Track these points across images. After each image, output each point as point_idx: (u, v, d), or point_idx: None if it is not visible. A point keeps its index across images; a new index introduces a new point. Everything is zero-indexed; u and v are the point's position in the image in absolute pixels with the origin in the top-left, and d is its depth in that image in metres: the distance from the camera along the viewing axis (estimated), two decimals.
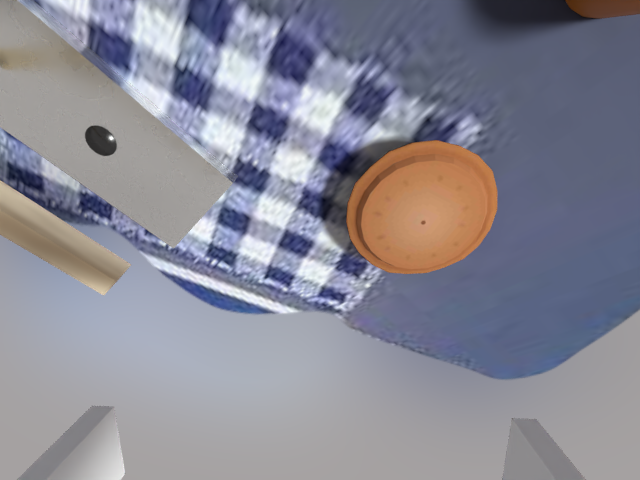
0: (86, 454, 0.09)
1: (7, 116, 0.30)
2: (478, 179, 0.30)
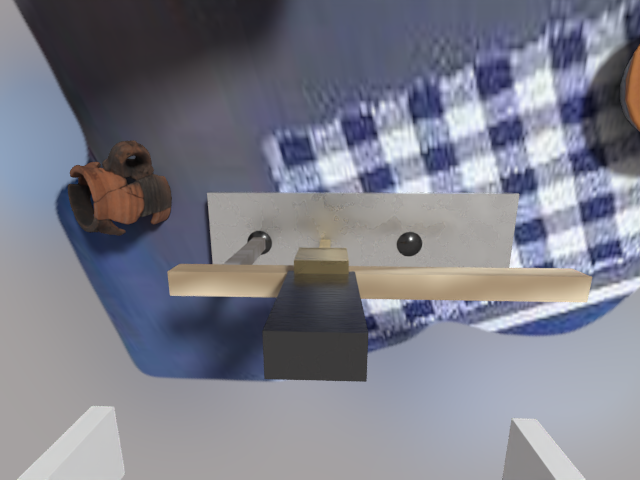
0: (86, 454, 0.09)
1: None
2: None
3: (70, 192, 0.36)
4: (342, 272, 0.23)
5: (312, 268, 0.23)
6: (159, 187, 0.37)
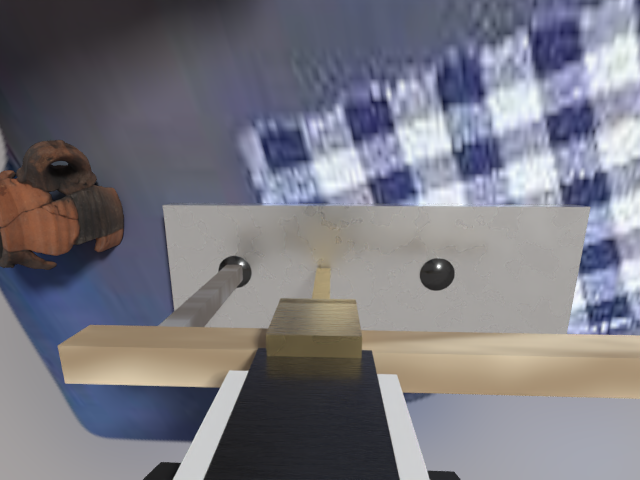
0: None
1: None
2: None
3: None
4: (350, 355, 0.13)
5: (298, 348, 0.13)
6: (104, 203, 0.28)
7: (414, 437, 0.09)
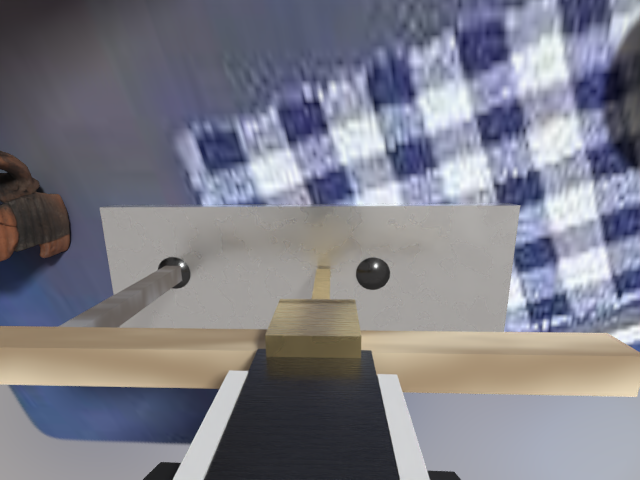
0: None
1: None
2: None
3: None
4: (350, 355, 0.13)
5: (297, 348, 0.13)
6: (47, 209, 0.28)
7: (414, 437, 0.09)
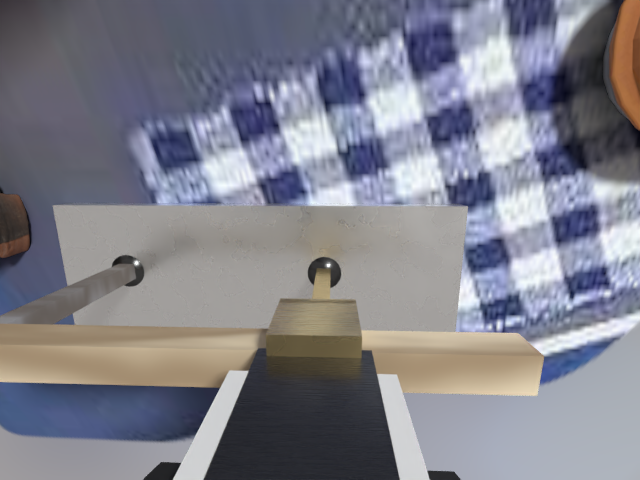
0: None
1: (243, 317, 0.29)
2: None
3: None
4: (350, 355, 0.13)
5: (298, 348, 0.13)
6: (4, 210, 0.28)
7: (414, 437, 0.09)
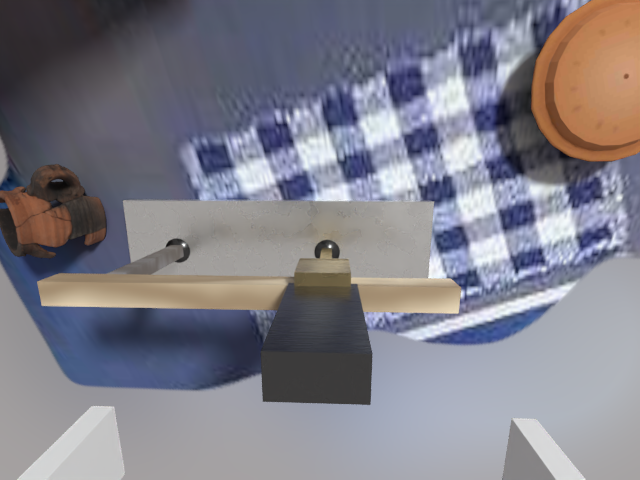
0: (86, 454, 0.09)
1: None
2: (635, 3, 0.29)
3: None
4: (344, 285, 0.22)
5: (313, 280, 0.22)
6: (90, 208, 0.37)
7: None
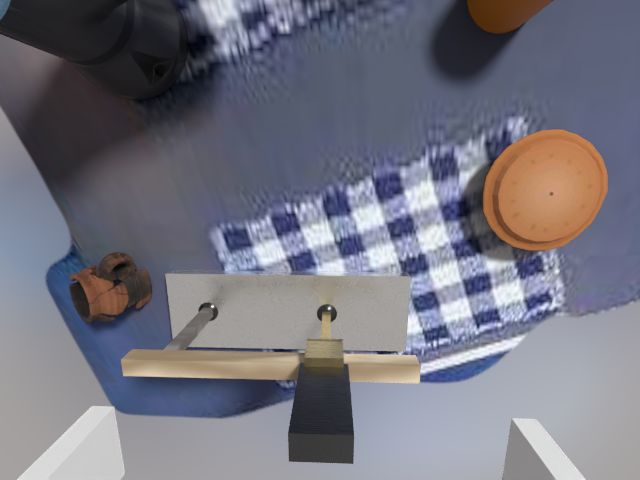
0: (86, 454, 0.09)
1: (277, 339, 0.48)
2: (557, 141, 0.38)
3: (71, 290, 0.46)
4: (339, 366, 0.32)
5: (317, 363, 0.32)
6: (141, 281, 0.47)
7: None
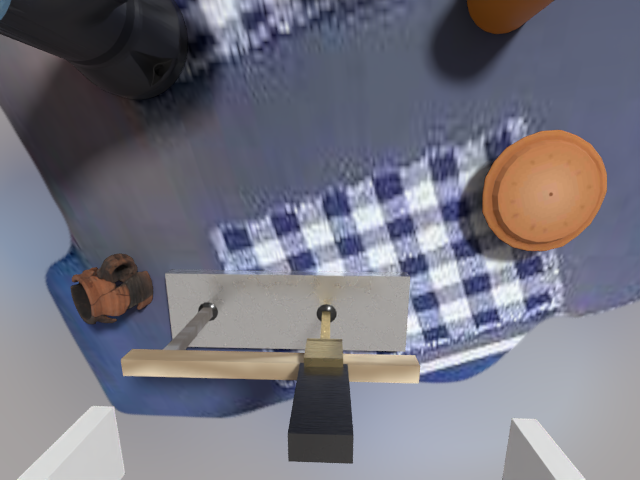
0: (86, 454, 0.09)
1: (277, 339, 0.48)
2: (556, 141, 0.39)
3: (72, 292, 0.46)
4: (338, 366, 0.32)
5: (317, 363, 0.32)
6: (142, 282, 0.47)
7: None
